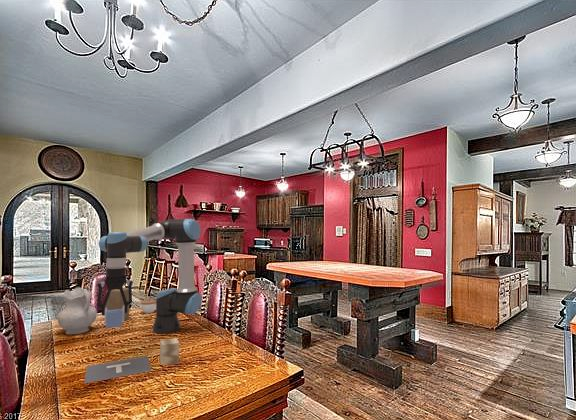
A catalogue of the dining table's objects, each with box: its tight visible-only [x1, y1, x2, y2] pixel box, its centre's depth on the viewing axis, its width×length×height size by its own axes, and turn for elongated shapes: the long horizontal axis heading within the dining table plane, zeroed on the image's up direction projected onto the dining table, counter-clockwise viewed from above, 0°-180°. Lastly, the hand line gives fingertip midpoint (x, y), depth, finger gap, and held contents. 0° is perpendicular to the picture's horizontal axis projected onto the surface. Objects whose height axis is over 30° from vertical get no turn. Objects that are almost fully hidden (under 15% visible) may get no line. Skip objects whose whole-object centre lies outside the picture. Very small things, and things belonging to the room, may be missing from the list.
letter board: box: [83, 355, 153, 384], centre depth 140 cm, size 24×18×1 cm
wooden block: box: [105, 287, 130, 322], centre depth 214 cm, size 10×10×20 cm
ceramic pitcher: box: [56, 286, 98, 335], centre depth 191 cm, size 22×20×25 cm
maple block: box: [159, 337, 180, 366], centre depth 148 cm, size 7×7×9 cm
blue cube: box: [105, 309, 123, 329], centre depth 143 cm, size 6×6×6 cm
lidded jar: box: [140, 298, 156, 314], centre depth 234 cm, size 11×11×9 cm
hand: (114, 321), depth 142 cm, fingers closed on blue cube, 6 cm apart
